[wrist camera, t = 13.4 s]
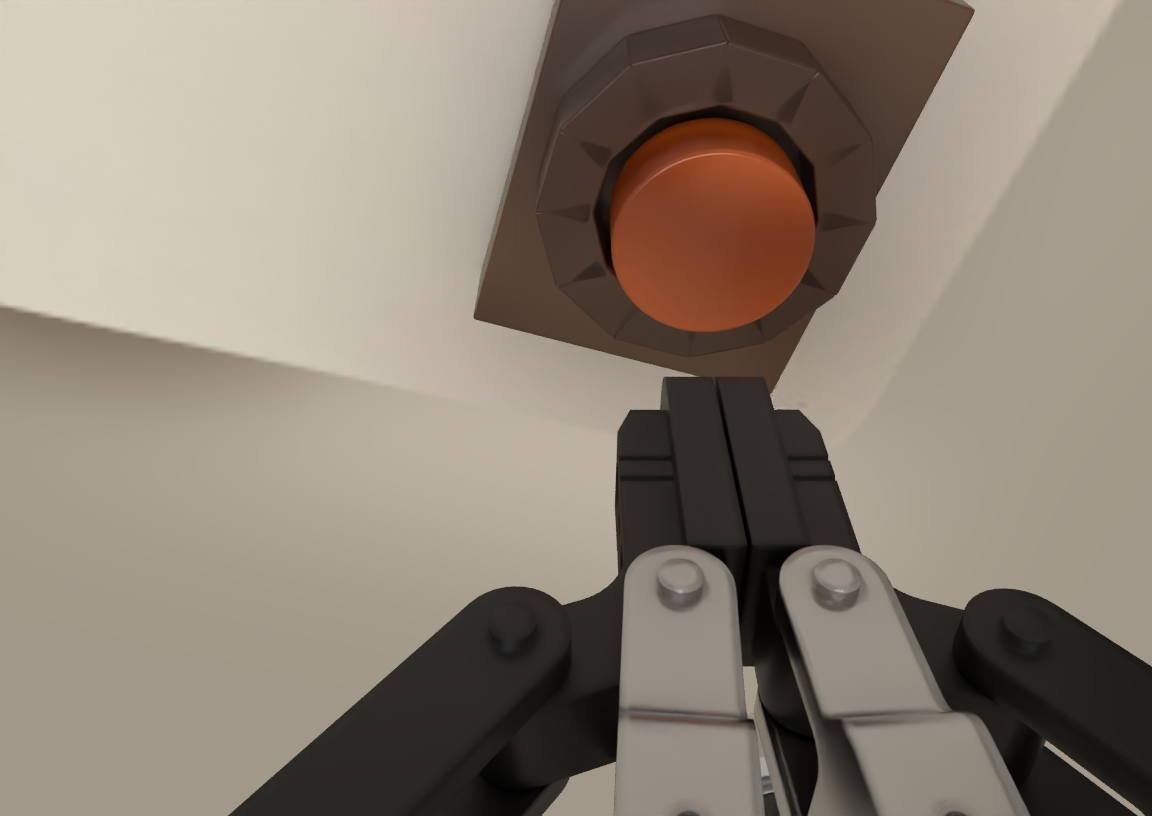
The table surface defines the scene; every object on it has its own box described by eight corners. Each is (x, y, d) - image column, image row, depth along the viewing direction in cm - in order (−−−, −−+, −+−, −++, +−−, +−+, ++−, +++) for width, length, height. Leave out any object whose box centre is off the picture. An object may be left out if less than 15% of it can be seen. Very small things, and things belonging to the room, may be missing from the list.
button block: (758, 348, 26) (782, 439, 23) (480, 275, 25) (465, 360, 22) (943, -18, 20) (1009, 36, 17) (592, -139, 19) (594, -106, 16)
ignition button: (753, 310, 21) (765, 353, 20) (586, 264, 21) (585, 306, 19) (832, 147, 19) (852, 184, 18) (646, 90, 18) (650, 123, 17)
